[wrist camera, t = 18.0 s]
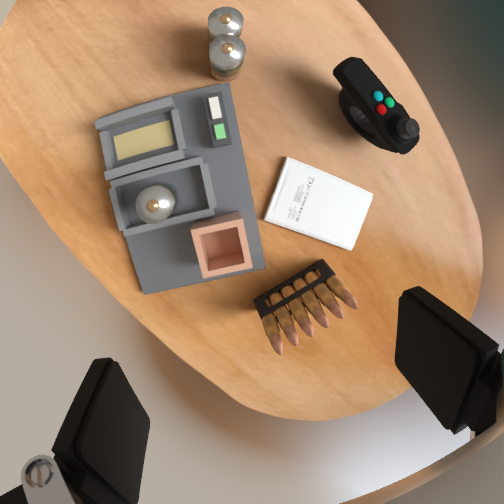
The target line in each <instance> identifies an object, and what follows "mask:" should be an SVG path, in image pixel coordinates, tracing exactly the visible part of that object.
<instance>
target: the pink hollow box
mask: <svg viewBox="0 0 504 504" xmlns="http://www.w3.org/2000/svg"><path fill="white" fill-rule="evenodd" d="M191 233H192V237H193V241H194V245H195V249H196V253H197V257H198V261H199V265H200V268H201V272H202V276H203V279H204V278H208V277H213V276H218V275H222V274H227V273H231V272H236V271H240V270H245V269H249V268H253V266H252V261H251V256H250V252H249V247H248V242H247V237H246V232H245V227H244V222H243V218H242V216H241V214H240V212H239V211H238V212H233V213H228V214H224V215H219V216H215V217H210V218H206V219H202V220H197V221H194V223H193V226H192V228H191Z"/></svg>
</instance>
